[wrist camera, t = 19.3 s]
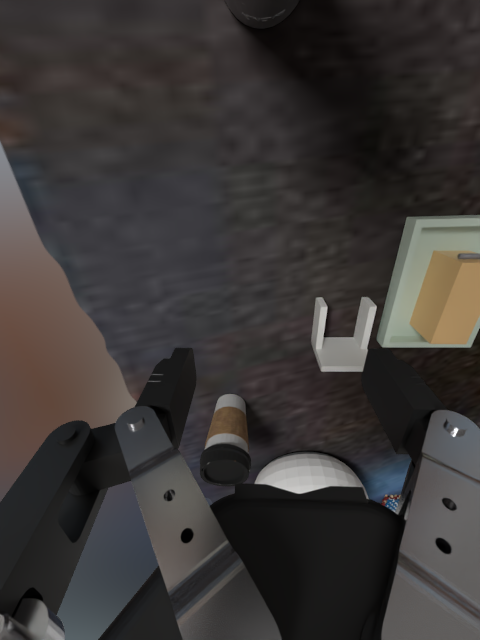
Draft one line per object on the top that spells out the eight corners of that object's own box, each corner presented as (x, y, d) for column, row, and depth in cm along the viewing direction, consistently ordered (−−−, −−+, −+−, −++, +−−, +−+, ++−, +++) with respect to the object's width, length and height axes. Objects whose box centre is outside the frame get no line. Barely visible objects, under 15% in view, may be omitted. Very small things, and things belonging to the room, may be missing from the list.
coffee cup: (218, 383, 53) (207, 453, 40) (258, 396, 54) (259, 468, 41) (205, 411, 57) (191, 483, 44) (242, 423, 58) (239, 496, 45)
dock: (316, 297, 43) (328, 321, 36) (368, 297, 43) (390, 321, 36) (310, 342, 47) (320, 371, 40) (358, 342, 47) (376, 371, 40)
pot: (309, 423, 57) (330, 512, 42) (386, 474, 64) (426, 567, 49) (226, 480, 69) (218, 567, 53) (299, 518, 76) (310, 604, 61)
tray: (406, 216, 37) (416, 219, 35) (513, 214, 36) (530, 216, 34) (376, 339, 46) (382, 347, 44) (460, 339, 46) (470, 347, 43)
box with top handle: (435, 245, 38) (464, 256, 33) (471, 245, 38) (507, 256, 32) (409, 323, 44) (430, 343, 39) (440, 323, 44) (466, 344, 38)
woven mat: (383, 491, 68) (386, 500, 67) (425, 492, 68) (430, 501, 66) (374, 513, 73) (377, 521, 72) (414, 514, 73) (418, 523, 71)
